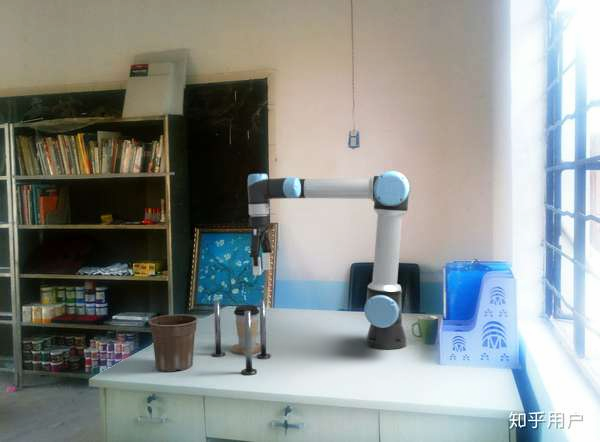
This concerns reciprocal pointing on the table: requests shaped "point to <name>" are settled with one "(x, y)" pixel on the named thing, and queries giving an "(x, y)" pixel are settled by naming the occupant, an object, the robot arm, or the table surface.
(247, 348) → the pole outer
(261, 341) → the pole corner
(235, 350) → the coaster
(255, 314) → the coffee cup
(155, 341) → the plant pot
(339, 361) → the table surface
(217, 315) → the pole far
